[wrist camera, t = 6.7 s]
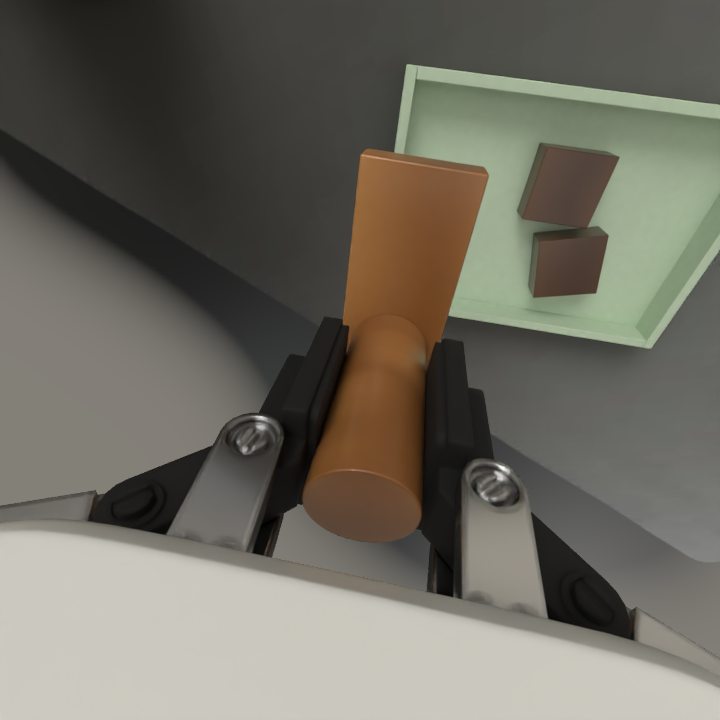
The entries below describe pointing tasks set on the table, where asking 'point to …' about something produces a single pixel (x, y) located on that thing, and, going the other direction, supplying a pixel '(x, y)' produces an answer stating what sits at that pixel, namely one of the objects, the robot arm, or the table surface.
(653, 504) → the table surface
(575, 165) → the dark brown square block
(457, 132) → the tray
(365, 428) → the brush
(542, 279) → the chip
